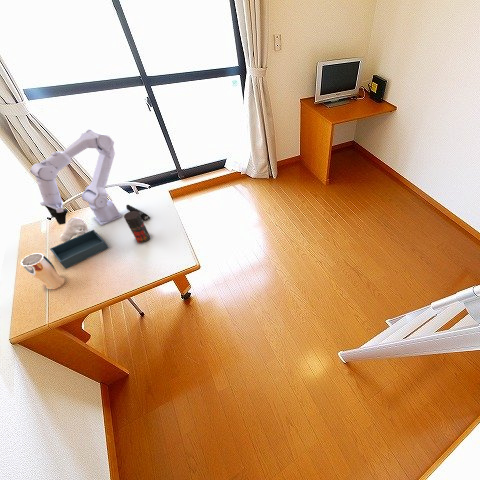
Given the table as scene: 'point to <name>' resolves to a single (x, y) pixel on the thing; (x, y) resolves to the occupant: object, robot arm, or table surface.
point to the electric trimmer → (142, 214)
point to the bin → (79, 248)
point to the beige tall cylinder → (42, 270)
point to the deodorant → (137, 226)
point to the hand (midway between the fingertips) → (59, 220)
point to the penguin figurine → (73, 228)
